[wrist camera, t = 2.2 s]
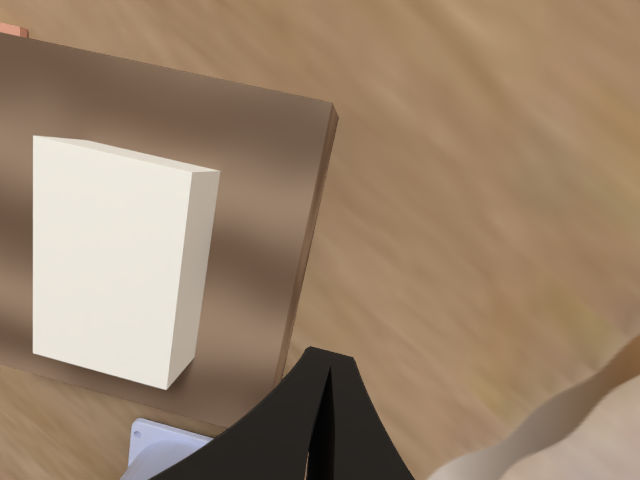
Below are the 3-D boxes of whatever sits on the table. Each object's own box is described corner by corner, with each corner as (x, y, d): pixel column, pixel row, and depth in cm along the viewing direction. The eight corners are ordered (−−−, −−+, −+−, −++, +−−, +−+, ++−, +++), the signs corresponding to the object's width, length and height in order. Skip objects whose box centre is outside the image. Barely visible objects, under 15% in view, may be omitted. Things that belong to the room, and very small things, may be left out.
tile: (194, 357, 16) (166, 390, 14) (79, 326, 16) (32, 353, 14) (220, 171, 14) (191, 172, 11) (86, 140, 14) (33, 135, 12)
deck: (280, 385, 20) (261, 437, 16) (42, 321, 21) (-28, 356, 17) (338, 117, 16) (332, 102, 13) (44, 54, 17) (-45, 22, 14)
